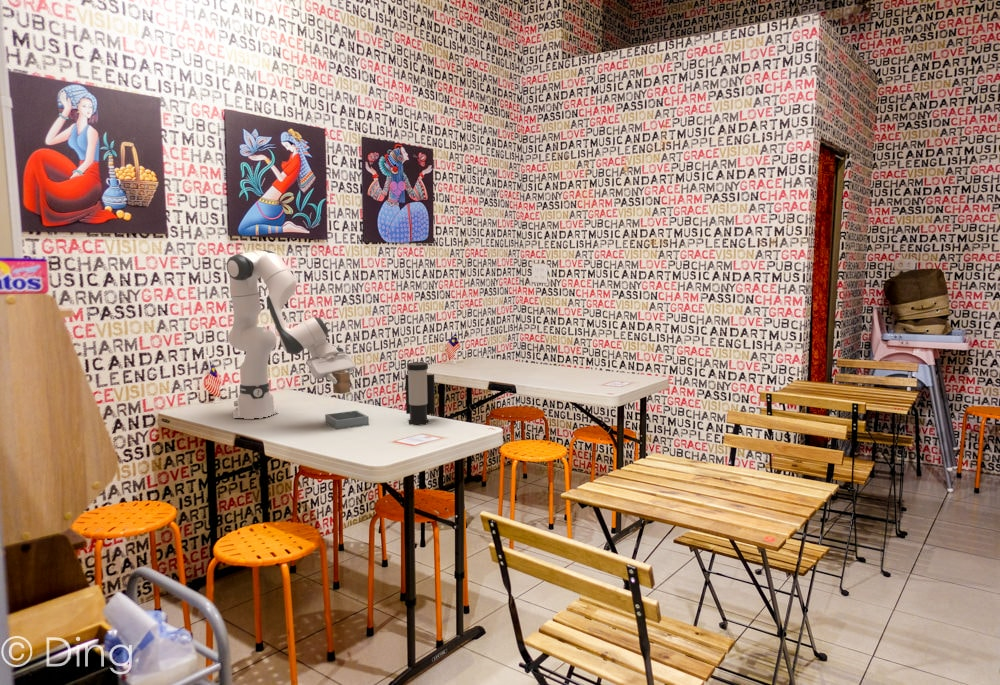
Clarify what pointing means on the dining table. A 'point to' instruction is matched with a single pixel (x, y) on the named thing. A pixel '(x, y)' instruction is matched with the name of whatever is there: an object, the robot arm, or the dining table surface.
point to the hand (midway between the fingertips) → (342, 381)
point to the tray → (346, 419)
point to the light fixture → (419, 393)
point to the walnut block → (342, 382)
